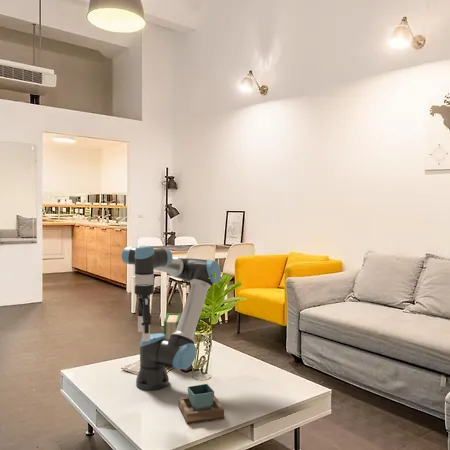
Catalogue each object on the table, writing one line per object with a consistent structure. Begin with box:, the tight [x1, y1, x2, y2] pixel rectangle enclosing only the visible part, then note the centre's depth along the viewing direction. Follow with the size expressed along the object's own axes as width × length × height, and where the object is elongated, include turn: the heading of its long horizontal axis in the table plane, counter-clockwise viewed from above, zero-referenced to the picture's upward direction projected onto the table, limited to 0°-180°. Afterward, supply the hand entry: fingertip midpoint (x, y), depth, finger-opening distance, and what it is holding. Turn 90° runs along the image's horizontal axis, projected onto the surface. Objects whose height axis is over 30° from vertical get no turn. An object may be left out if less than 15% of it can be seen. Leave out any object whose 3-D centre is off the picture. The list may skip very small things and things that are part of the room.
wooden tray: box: [178, 395, 225, 425], centre depth 180 cm, size 15×15×4 cm
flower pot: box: [187, 383, 215, 411], centre depth 180 cm, size 9×9×9 cm
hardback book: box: [163, 312, 182, 339], centre depth 240 cm, size 18×7×24 cm, turn 2°
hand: (143, 336), depth 181 cm, fingers open, 13 cm apart
